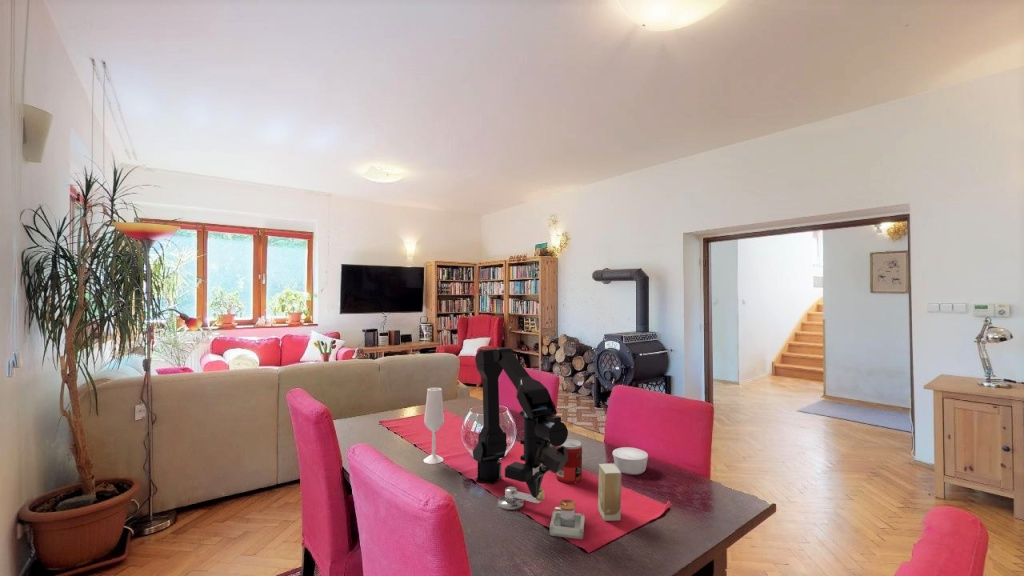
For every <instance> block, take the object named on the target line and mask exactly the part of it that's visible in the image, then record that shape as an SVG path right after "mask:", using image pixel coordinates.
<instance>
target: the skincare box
mask: <svg viewBox="0 0 1024 576" xmlns="http://www.w3.org/2000/svg"><path fill="white" fill-rule="evenodd" d="M622 474H623V473H622V472H620V471H619V469H618V468H617V467H616V465H615V463H614V462H613V463H598V489H597V490H598V493H597V494H598V497H597V498H598V499H597V500H598V501H597V509H598V512H599V513H600V515H601V517H602V519H603V521H604V522H607V521H608V522H609V521H611V522H612V521H621V520H622V519H621V518H622V517H621V515H622V514H621V513H622V512H621V511H622V510H621V509H622Z"/></svg>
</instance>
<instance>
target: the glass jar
mask: <svg viewBox="0 0 1024 576" xmlns="http://www.w3.org/2000/svg"><path fill="white" fill-rule="evenodd" d="M576 506H577V505H576V501H574V500H571V499H562V500H560V502H559V507H560V510H559V511H560V526H562V527H570V528H575V513H576V508H577V507H576Z"/></svg>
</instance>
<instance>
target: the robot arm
mask: <svg viewBox="0 0 1024 576" xmlns="http://www.w3.org/2000/svg"><path fill="white" fill-rule="evenodd" d="M474 359H475V363H476V370H477V372H478V374H479V376H480V377H481V378H482V406H483V408H482V409H483V410H482V411H483V414H482V415H483V417H482V419H483V427H482V428H481V430H480V432H479V434H478V439H477V441H478V442H477V444H476V445H475V447H474V449H472V457H473V459H474V460H475V461H476V462H477V477H476V478H475V482H477V483H478V482H479V483H488V484H497V483H498V482H499V480H500V479H501V477H502V462H501V459H505V455H506V451H507V449H508V448H507V447H508V443H507V433H506V432H505V431H504V430H503V429H502V427H501V425H500V424H501V423H500V392H499V388H500V387H499V385H500V383H499V378H500V376H501V374H502V372H503V371H504V373H505V374H506V376H507V378H509V380H510V381H511V383H512V385H513V386H514V387H515V389H516V399H517V401H518V403H519V406H520V407H521V408H522V410H521V411H520V412H519V415H520V416H521V417H523V438H522V439H520V441H519V442H520V445H523V454H522V455H520V456H519V457H520V461H523V462H524V463H522V462H518V461H513V463H509V464H508V465H506V467H504V477H505V478H507V479H511V480H513V481H517V482H520V483H525V484H526V486H527V487H528V490H529V492H530V495H532V497H534V498H536V497H537V496H538V493H539V489H540V487H541V485H542V483H543V480H544V479H543V478H544V476H545V475H546V474H548V472H552V473H555V474H556V473H557V472H558V471H559V470H561V469H563V468H564V465H565V462H567V461H568V451H567V448H566V447H564V446H561V445H562V444H563V443H564V442H565V441H566V439H568V436H569V430H568V427H567V425H566V424H565V423H564V422H562V417H561V416H559V415H557V414H558V411H557V409H556V405H555V403H554V402H553V399H552V397H551V394H550V393H549V389H548V388H547V387H546V386H545V385H544V384H543V383H542V382H541V381H538V380H536V379H534V378H533V377H532V376H530V373H529V372H528V371H527V370H526V369H525V367H524V366H523V365H522V363H521V362H520V360H519V359H518V358H517V356H516V355H515V353H514V350H513V348H510V347H498V348H496V347H495V348H484V349H479V350H478V352H477V353H476V354H475V357H474ZM546 407H547V409H542V408H546ZM535 409H541V410H535ZM550 444H552V446H554V447H550ZM556 446H561V447H559V448H558V449H557V448H556ZM556 449H557V450H556Z"/></svg>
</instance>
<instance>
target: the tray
mask: <svg viewBox="0 0 1024 576" xmlns="http://www.w3.org/2000/svg"><path fill="white" fill-rule="evenodd" d="M585 517H586V516H585V514H584V513H578V512H575V528H570V527H562V526H560V510H553V511H552V515H551V520H550V524H549V536H553V537H559V538H568V539H575V540H583V539H584V532H585V531H584V529H585Z"/></svg>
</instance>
